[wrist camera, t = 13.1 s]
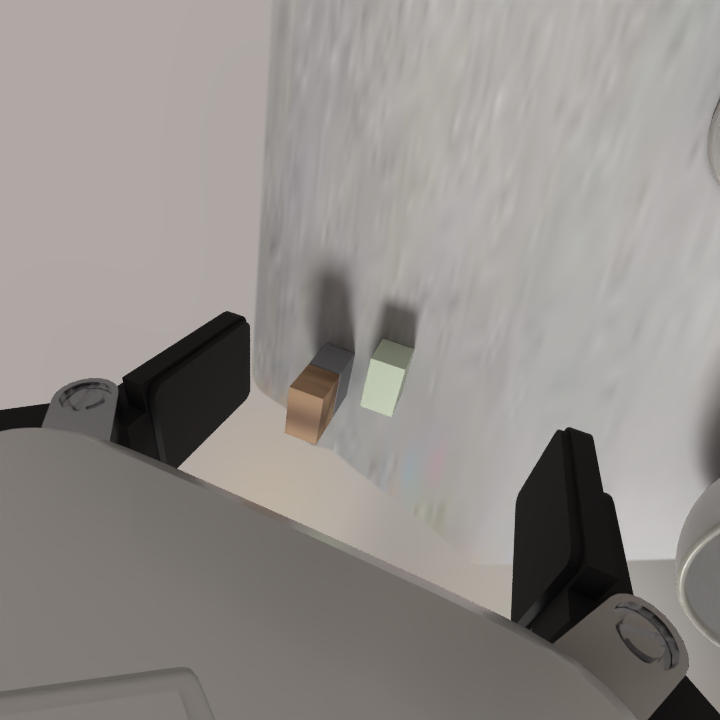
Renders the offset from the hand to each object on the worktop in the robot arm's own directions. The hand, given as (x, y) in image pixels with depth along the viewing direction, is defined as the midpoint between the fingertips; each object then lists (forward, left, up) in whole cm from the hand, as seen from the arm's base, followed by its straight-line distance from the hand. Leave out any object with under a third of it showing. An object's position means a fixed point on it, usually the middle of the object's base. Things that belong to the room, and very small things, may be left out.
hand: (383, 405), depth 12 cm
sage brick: (+4, +20, -32) cm, 38 cm away
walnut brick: (+11, +24, -27) cm, 38 cm away
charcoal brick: (+11, +24, -32) cm, 41 cm away
